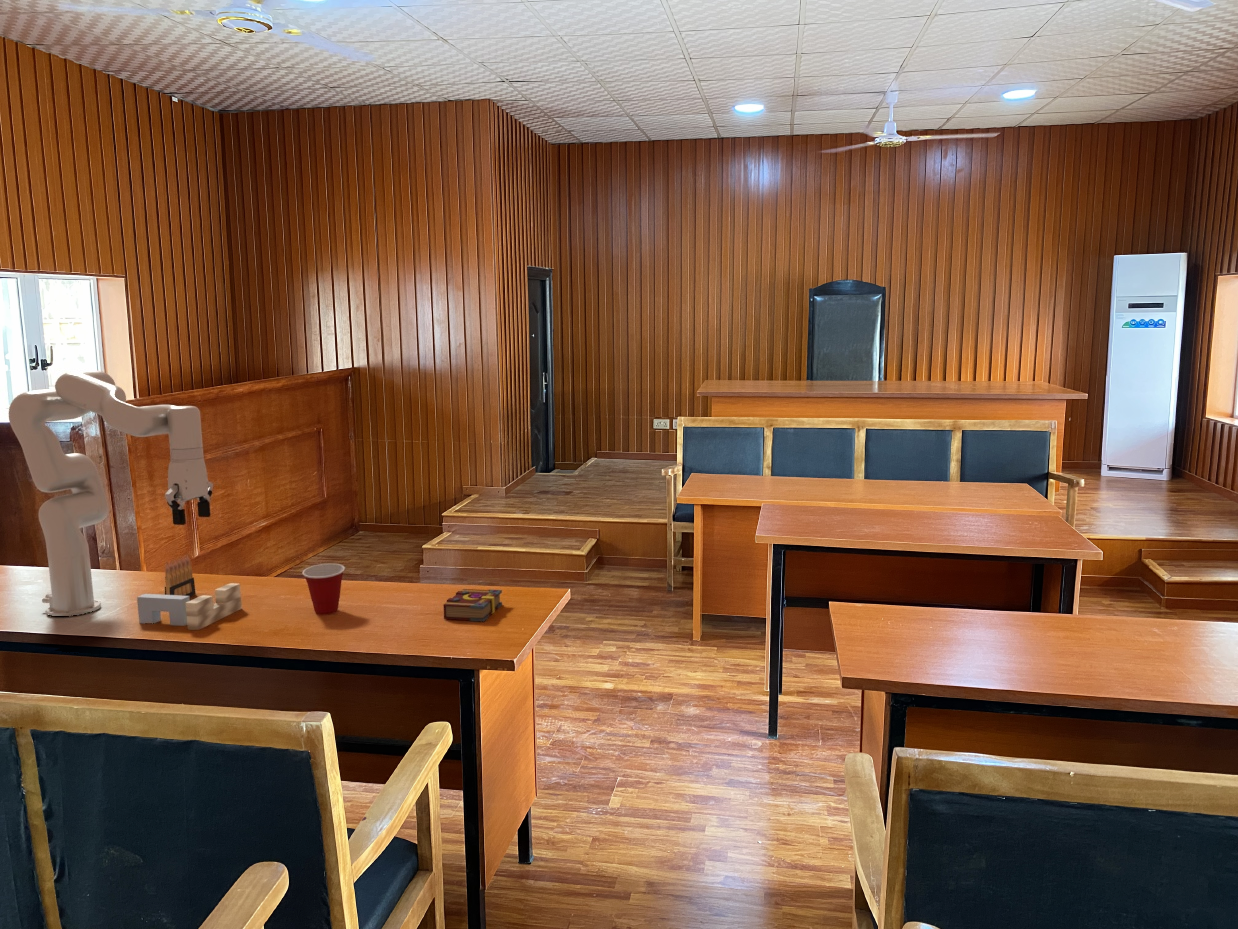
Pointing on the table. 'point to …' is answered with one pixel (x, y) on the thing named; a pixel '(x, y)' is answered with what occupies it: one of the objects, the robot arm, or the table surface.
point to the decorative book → (472, 604)
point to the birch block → (213, 606)
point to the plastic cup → (324, 586)
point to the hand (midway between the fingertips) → (192, 520)
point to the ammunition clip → (179, 578)
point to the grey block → (162, 608)
